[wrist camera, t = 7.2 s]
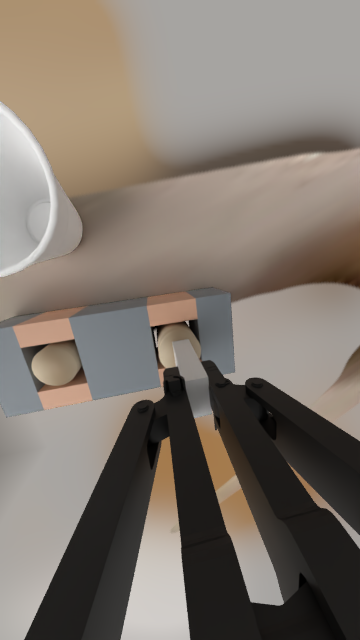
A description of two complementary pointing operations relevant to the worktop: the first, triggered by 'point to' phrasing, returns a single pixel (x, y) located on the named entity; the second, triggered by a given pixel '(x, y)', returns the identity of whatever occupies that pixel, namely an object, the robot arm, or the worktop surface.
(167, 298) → the block
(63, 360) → the peg
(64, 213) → the cup
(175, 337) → the peg
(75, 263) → the worktop surface
